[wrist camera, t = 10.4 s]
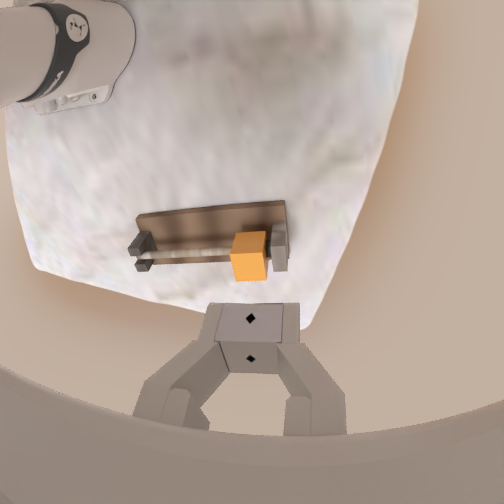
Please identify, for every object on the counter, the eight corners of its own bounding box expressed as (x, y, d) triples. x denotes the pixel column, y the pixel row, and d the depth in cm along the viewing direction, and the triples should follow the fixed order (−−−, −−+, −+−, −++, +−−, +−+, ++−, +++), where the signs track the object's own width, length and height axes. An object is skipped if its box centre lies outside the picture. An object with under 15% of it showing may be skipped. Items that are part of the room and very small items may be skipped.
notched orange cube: (241, 258, 42) (236, 281, 38) (236, 232, 39) (229, 254, 35) (269, 256, 41) (266, 280, 37) (265, 230, 39) (262, 252, 35)
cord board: (156, 259, 49) (139, 288, 43) (139, 214, 44) (118, 240, 38) (289, 252, 45) (288, 285, 39) (284, 200, 40) (283, 228, 34)
